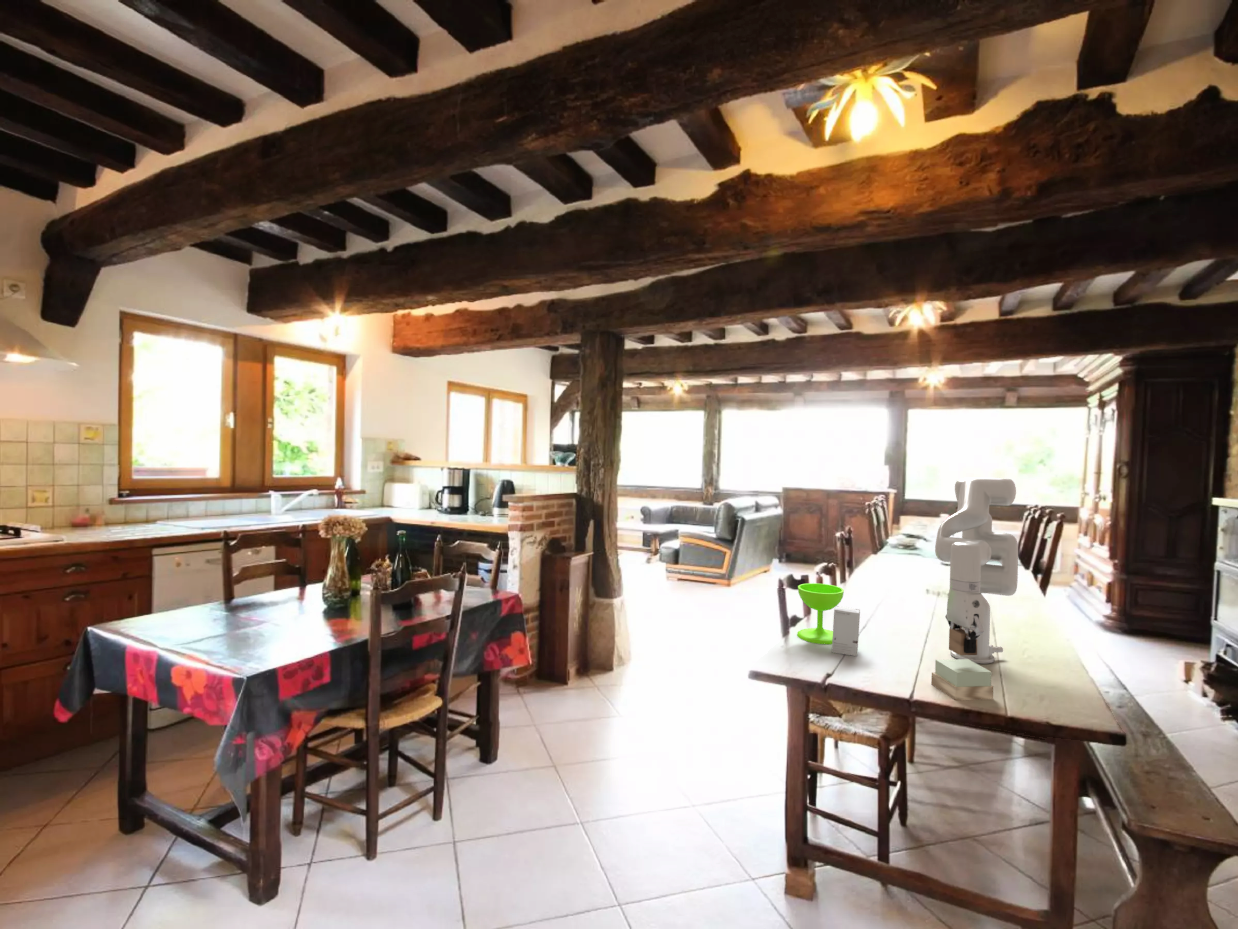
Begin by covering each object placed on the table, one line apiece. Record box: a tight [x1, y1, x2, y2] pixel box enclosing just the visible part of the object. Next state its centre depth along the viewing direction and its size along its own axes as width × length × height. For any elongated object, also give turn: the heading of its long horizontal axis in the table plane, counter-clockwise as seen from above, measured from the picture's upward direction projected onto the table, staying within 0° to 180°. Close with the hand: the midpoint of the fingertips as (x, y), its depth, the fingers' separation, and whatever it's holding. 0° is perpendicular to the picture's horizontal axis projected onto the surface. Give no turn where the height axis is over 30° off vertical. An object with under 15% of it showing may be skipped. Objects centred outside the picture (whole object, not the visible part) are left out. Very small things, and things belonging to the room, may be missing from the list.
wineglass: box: [796, 582, 845, 645], centre depth 218 cm, size 16×16×18 cm
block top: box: [934, 658, 993, 687], centre depth 170 cm, size 10×10×4 cm
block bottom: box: [930, 672, 994, 701], centre depth 171 cm, size 11×11×4 cm
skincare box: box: [831, 605, 861, 657], centre depth 203 cm, size 8×6×15 cm
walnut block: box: [948, 628, 977, 655], centre depth 170 cm, size 5×5×6 cm
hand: (963, 648), depth 170 cm, fingers closed on walnut block, 5 cm apart
